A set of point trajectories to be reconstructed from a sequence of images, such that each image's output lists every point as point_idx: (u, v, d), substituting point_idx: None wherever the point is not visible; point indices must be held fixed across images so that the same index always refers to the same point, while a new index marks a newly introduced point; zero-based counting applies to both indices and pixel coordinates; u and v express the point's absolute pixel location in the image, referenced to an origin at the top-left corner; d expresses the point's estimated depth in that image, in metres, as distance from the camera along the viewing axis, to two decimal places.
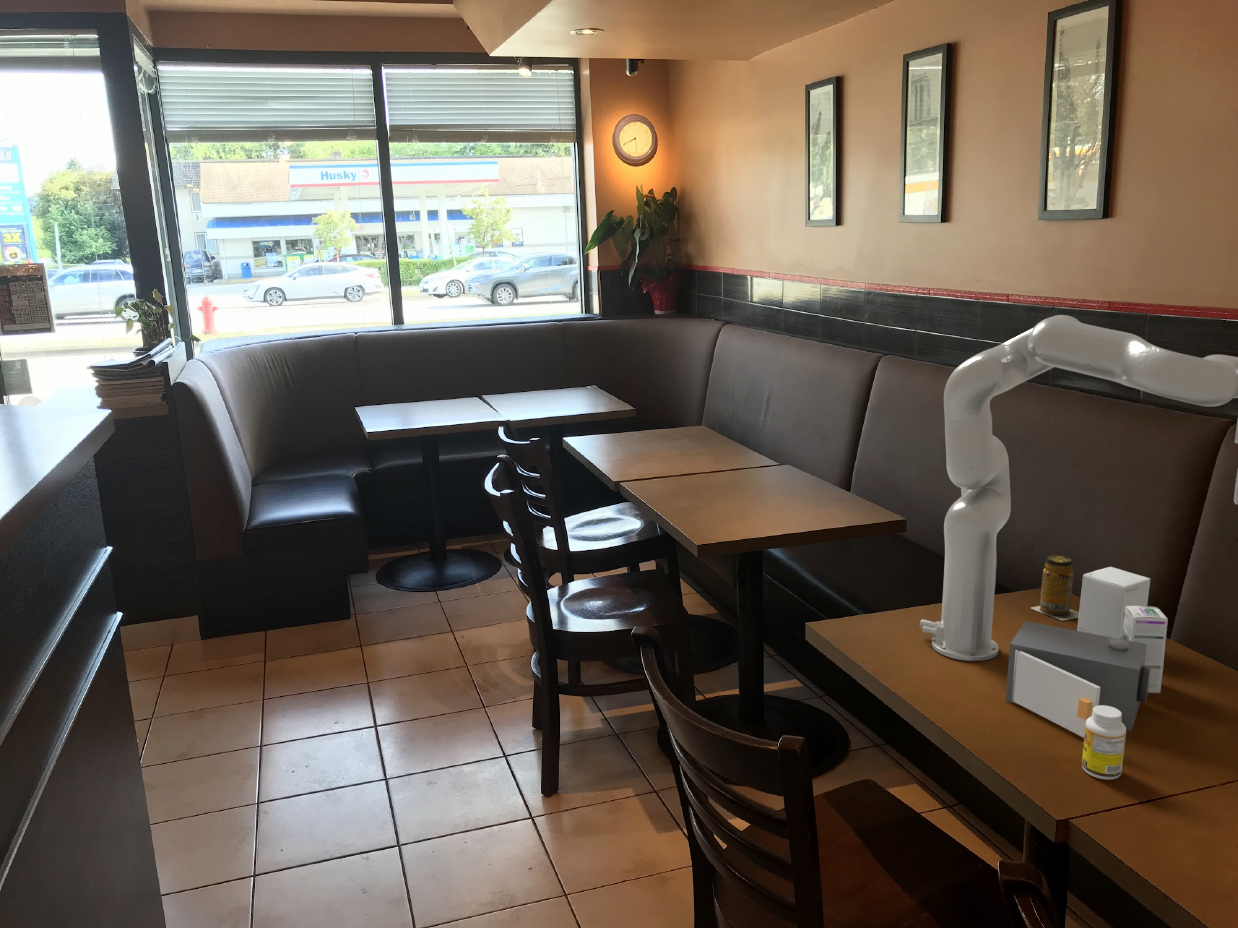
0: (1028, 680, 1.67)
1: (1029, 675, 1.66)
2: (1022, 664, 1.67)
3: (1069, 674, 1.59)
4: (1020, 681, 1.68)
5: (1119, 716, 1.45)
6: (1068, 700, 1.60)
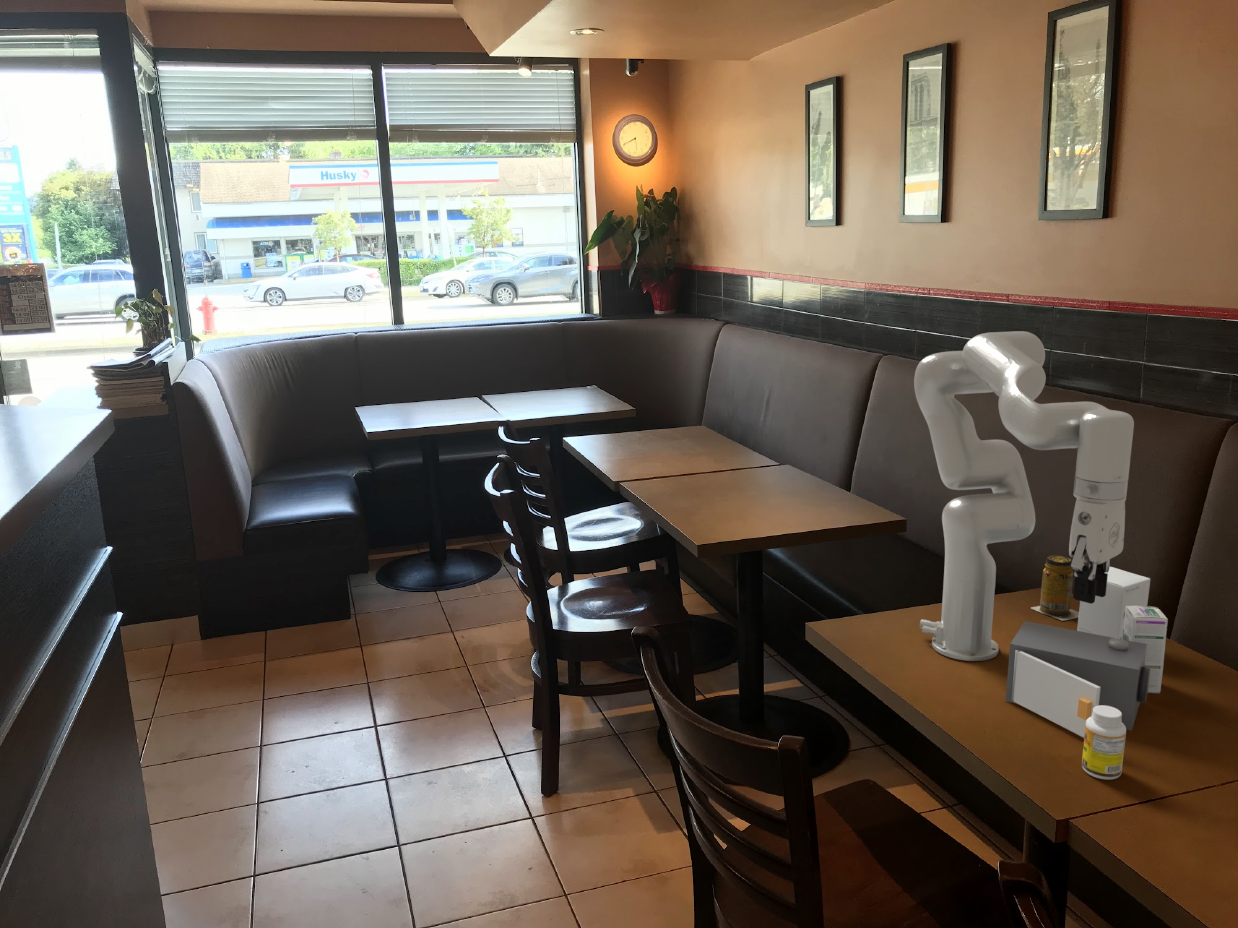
0: (1028, 680, 1.67)
1: (1029, 675, 1.66)
2: (1022, 664, 1.67)
3: (1069, 674, 1.59)
4: (1020, 681, 1.68)
5: (1119, 716, 1.45)
6: (1068, 700, 1.60)
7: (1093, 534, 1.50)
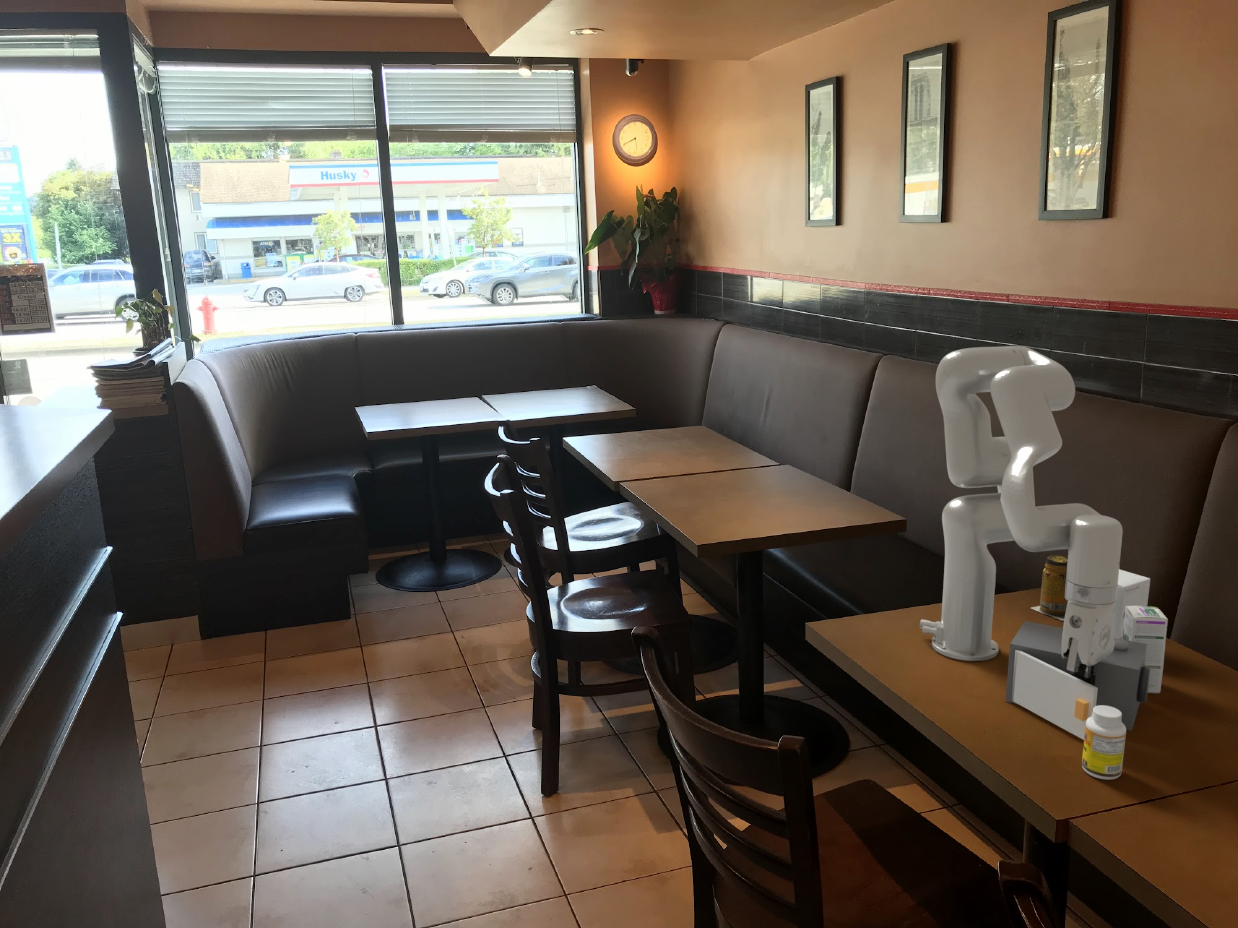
0: (1028, 680, 1.67)
1: (1028, 675, 1.66)
2: (1022, 664, 1.67)
3: (1067, 675, 1.59)
4: (1020, 681, 1.68)
5: (1119, 716, 1.45)
6: (1066, 701, 1.59)
7: (1084, 637, 1.54)
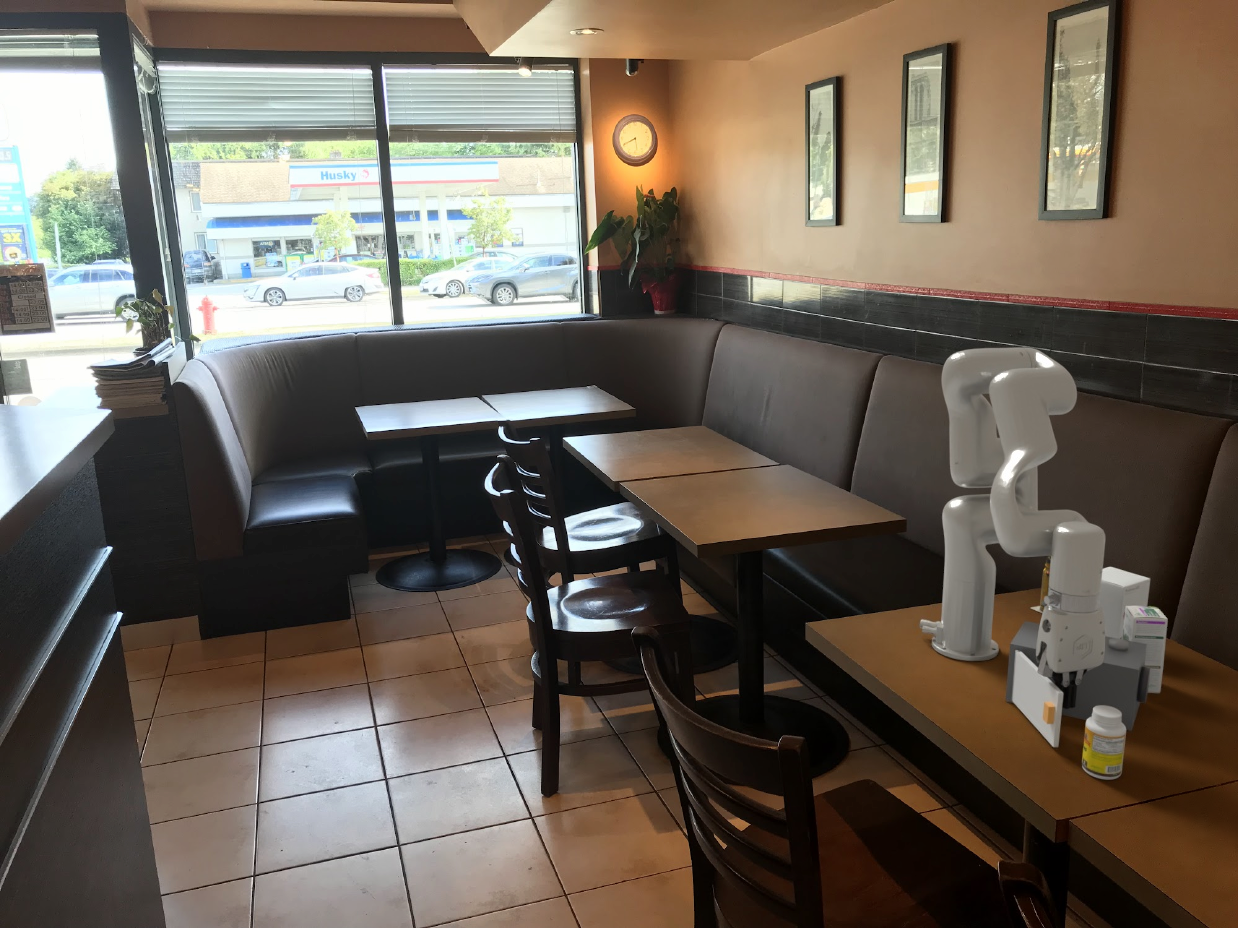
0: (1021, 680, 1.66)
1: (1022, 676, 1.66)
2: (1018, 664, 1.67)
3: (1045, 677, 1.58)
4: (1016, 681, 1.68)
5: (1119, 716, 1.45)
6: (1042, 703, 1.59)
7: (1052, 643, 1.53)
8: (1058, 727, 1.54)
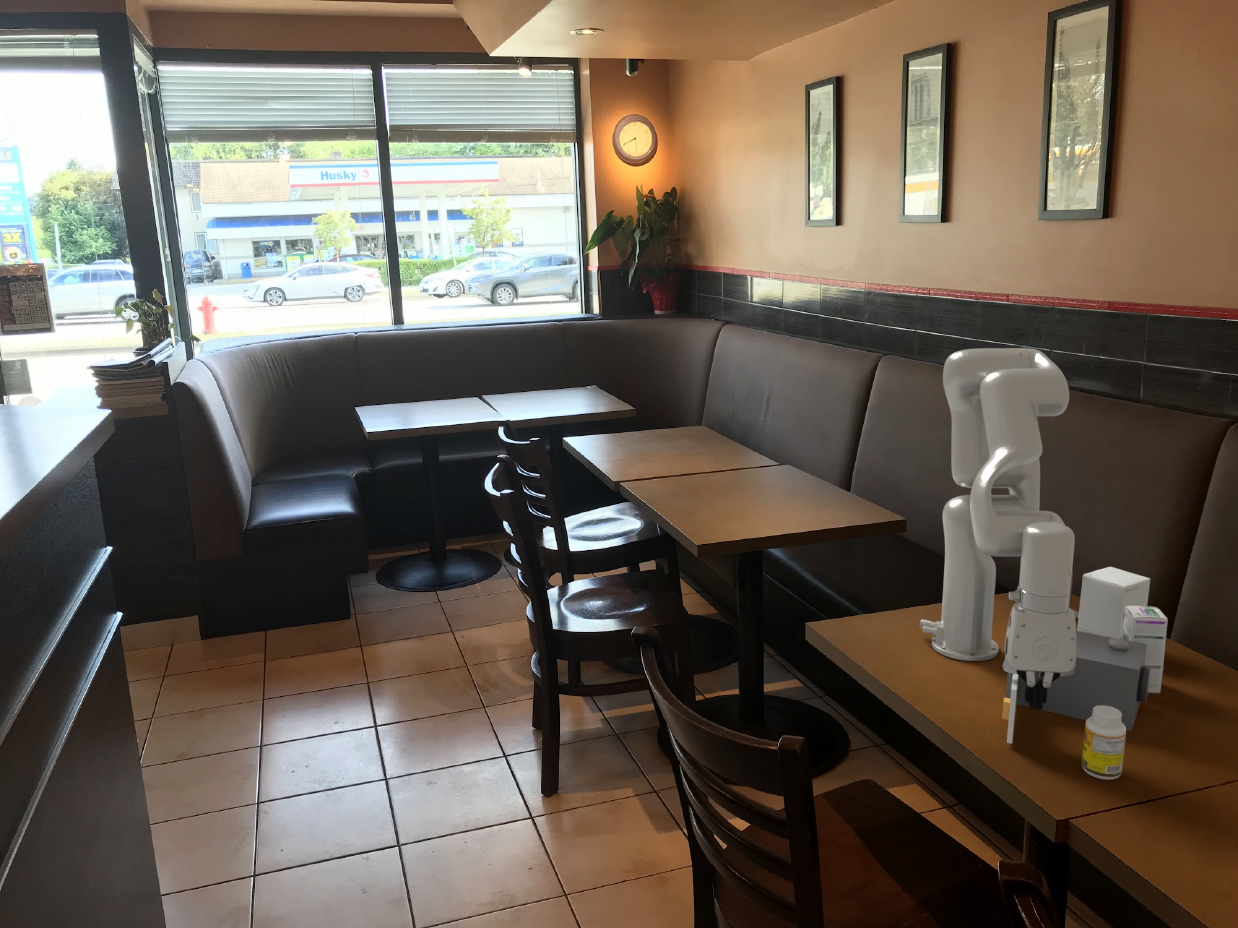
0: None
1: None
2: None
3: (1014, 675, 1.59)
4: None
5: (1119, 716, 1.45)
6: None
7: (1010, 638, 1.55)
8: (1011, 724, 1.56)
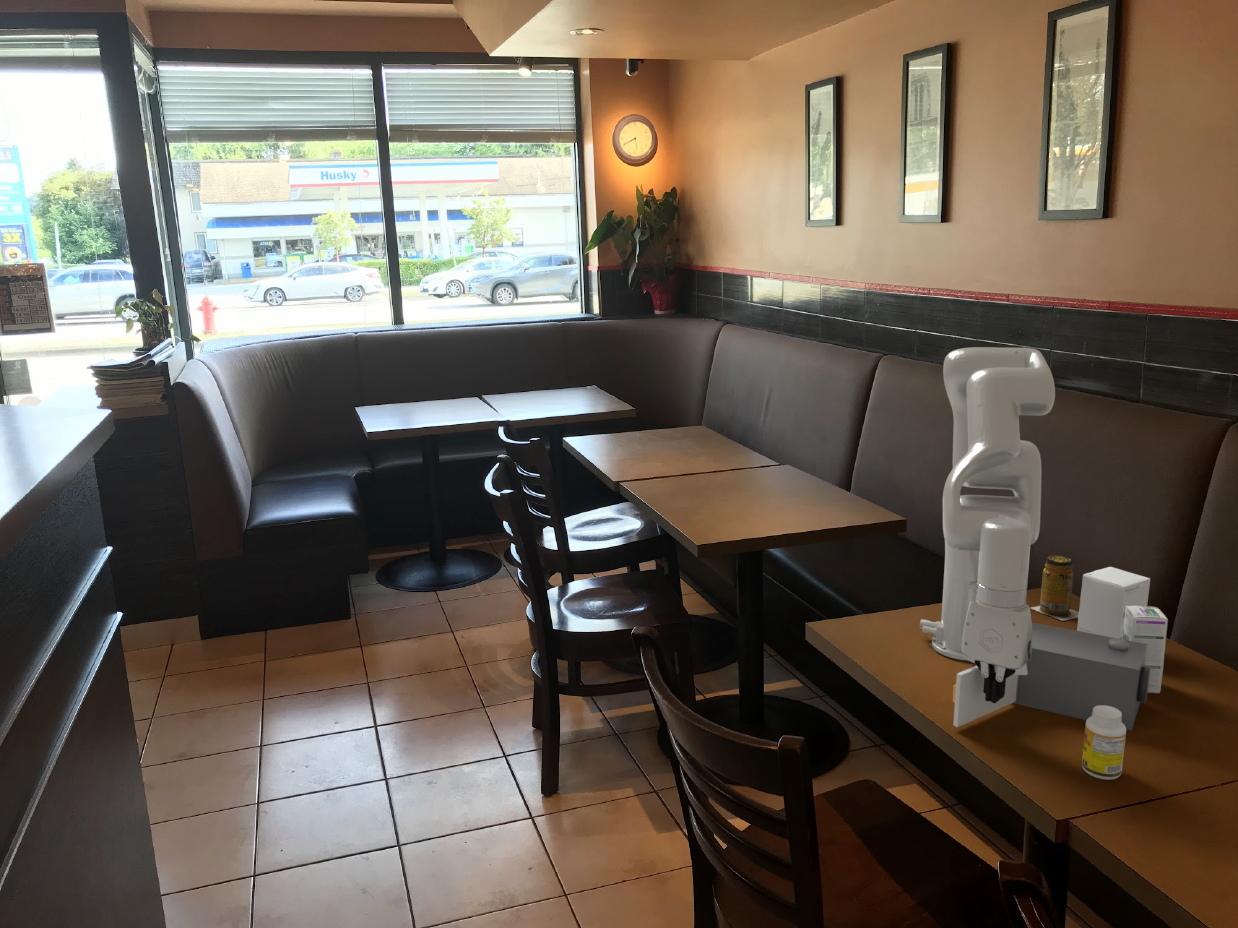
0: None
1: None
2: None
3: None
4: None
5: (1119, 716, 1.45)
6: None
7: None
8: (957, 707, 1.61)
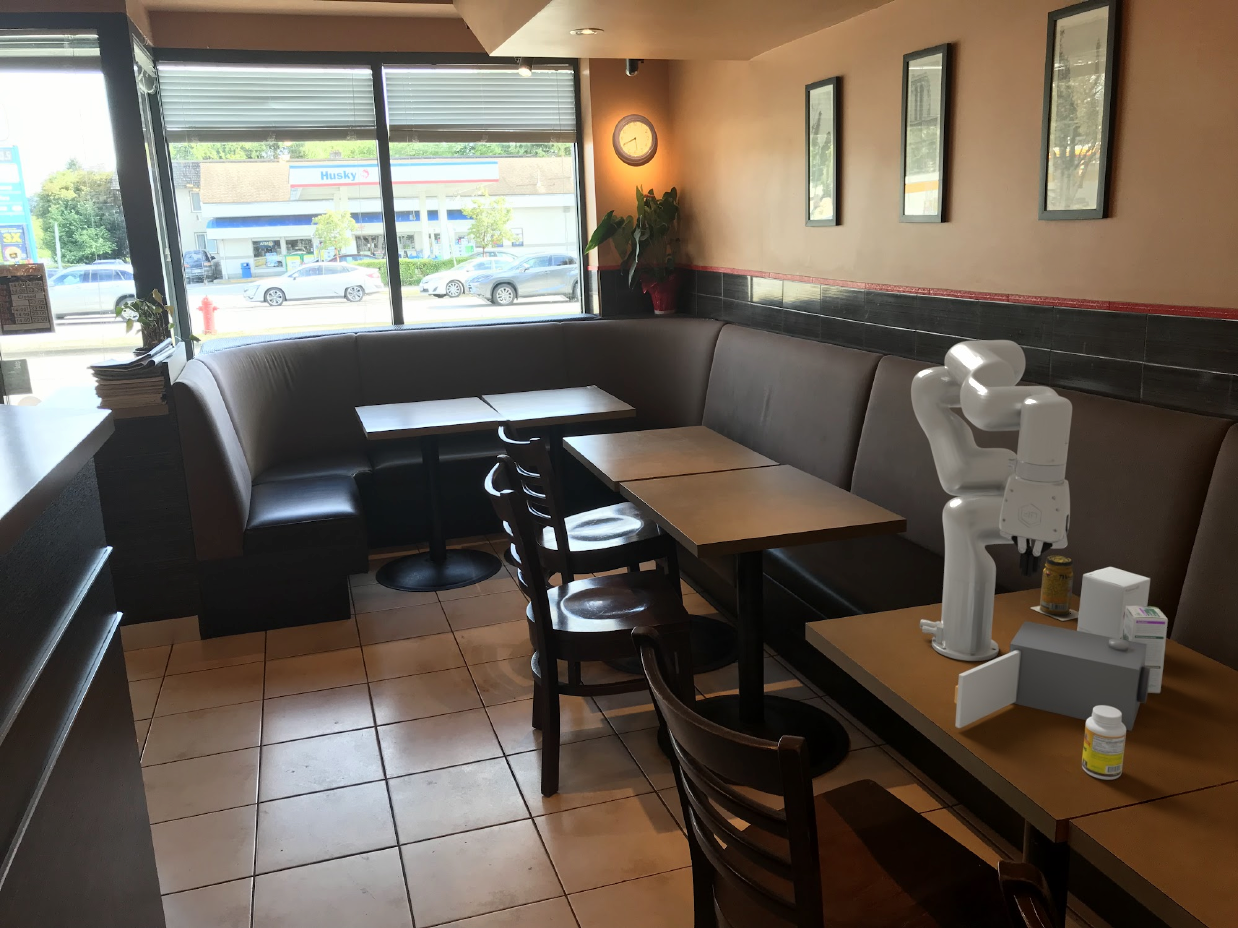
0: None
1: None
2: None
3: (980, 666, 1.63)
4: None
5: (1119, 716, 1.45)
6: None
7: (1002, 502, 1.63)
8: (959, 708, 1.61)
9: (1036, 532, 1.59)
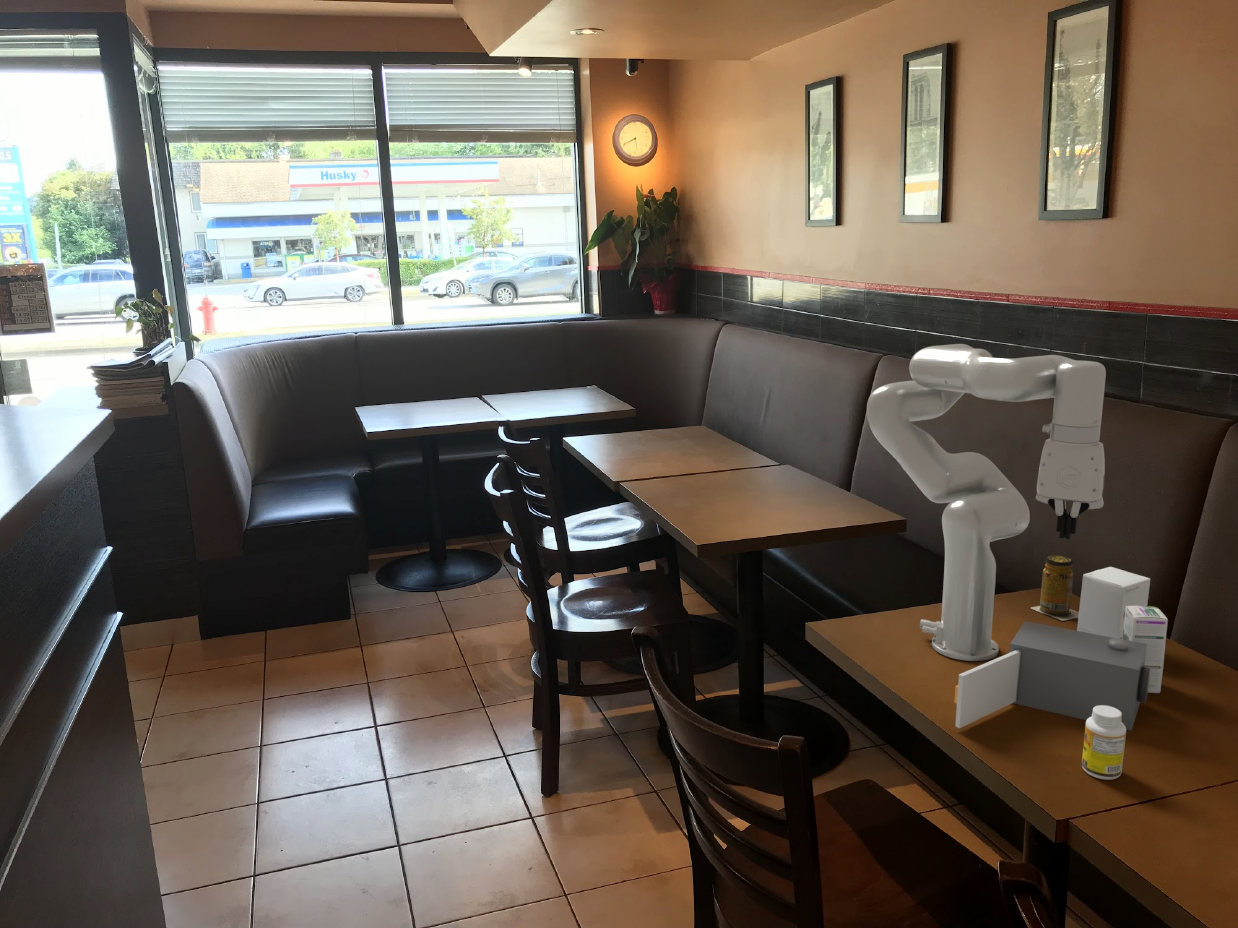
0: None
1: None
2: None
3: (980, 666, 1.63)
4: None
5: (1119, 716, 1.45)
6: None
7: (1039, 467, 1.68)
8: (959, 708, 1.61)
9: (1075, 493, 1.64)
